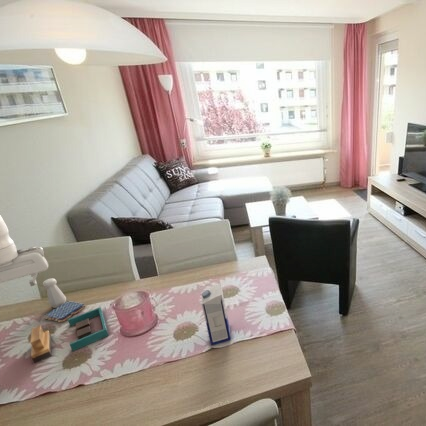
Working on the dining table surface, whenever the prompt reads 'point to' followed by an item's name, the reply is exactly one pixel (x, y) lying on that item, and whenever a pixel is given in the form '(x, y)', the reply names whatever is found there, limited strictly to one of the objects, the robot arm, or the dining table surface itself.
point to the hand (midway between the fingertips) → (15, 290)
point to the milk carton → (215, 315)
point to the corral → (93, 336)
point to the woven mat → (64, 311)
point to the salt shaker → (54, 293)
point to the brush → (40, 344)
